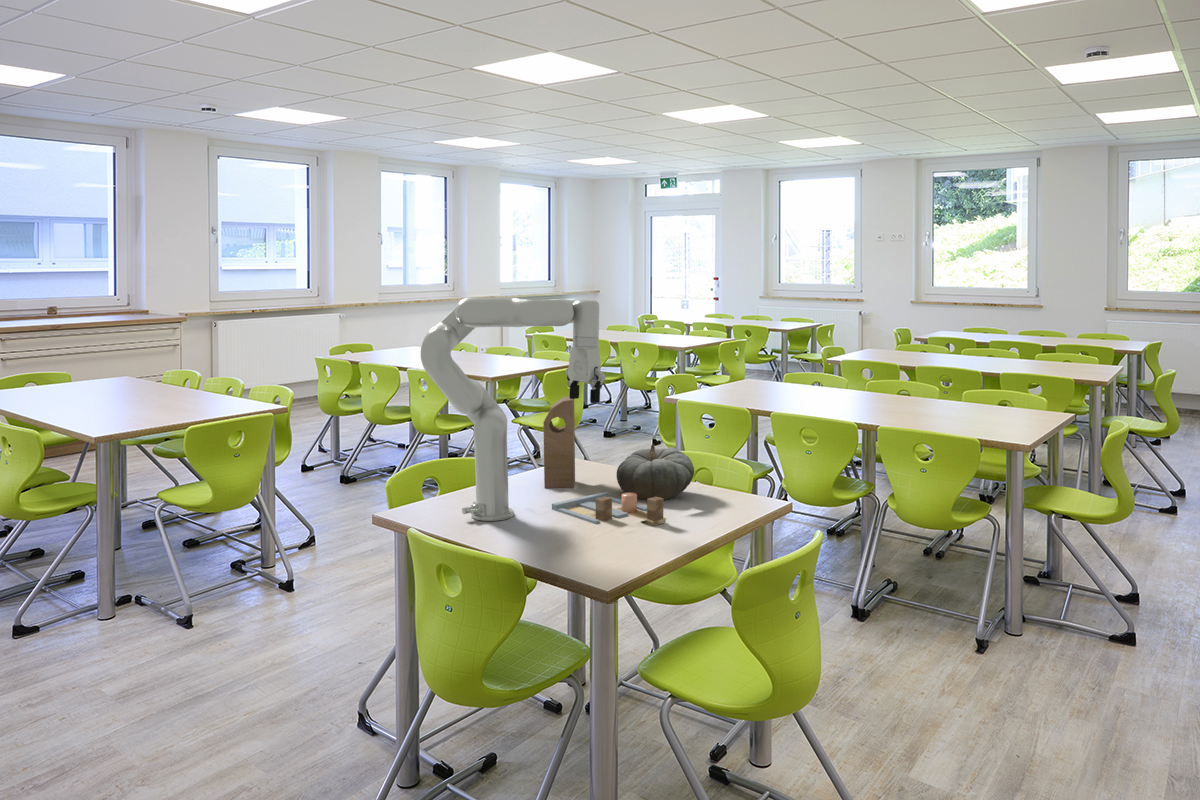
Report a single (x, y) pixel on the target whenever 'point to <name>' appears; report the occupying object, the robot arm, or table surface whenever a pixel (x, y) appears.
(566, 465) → the decorative block
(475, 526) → the table surface
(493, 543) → the table surface
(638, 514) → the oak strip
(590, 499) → the lane frame
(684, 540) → the table surface
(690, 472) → the gourd
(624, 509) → the peach rounded cylinder
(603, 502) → the brown wooden block
